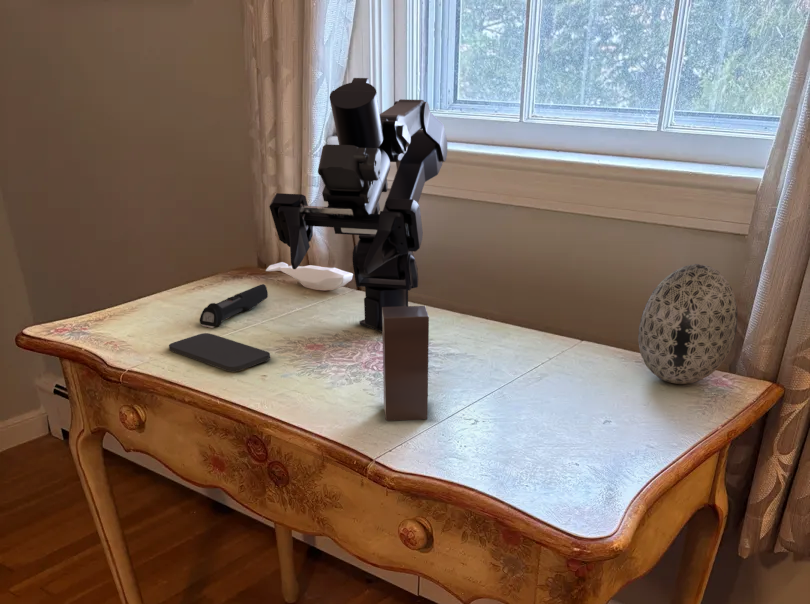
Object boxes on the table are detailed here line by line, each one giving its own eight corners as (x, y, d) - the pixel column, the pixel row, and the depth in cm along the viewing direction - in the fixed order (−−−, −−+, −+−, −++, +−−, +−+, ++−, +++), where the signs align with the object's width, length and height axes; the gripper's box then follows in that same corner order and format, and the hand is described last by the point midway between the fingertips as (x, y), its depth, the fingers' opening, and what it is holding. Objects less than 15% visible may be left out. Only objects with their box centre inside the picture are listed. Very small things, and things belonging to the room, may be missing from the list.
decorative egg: (727, 372, 107) (754, 258, 99) (718, 405, 98) (746, 282, 90) (639, 360, 111) (658, 249, 103) (623, 390, 102) (642, 271, 94)
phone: (206, 331, 119) (273, 353, 111) (206, 337, 119) (274, 358, 111) (165, 345, 114) (232, 368, 106) (166, 350, 115) (233, 374, 107)
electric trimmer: (275, 303, 134) (273, 284, 133) (217, 329, 123) (214, 308, 121) (256, 300, 136) (254, 281, 134) (198, 325, 124) (195, 305, 122)
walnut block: (383, 407, 98) (381, 306, 91) (424, 405, 98) (425, 305, 91) (385, 421, 95) (384, 317, 88) (427, 419, 95) (428, 316, 88)
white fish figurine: (338, 299, 135) (337, 275, 133) (265, 281, 145) (263, 259, 142) (359, 292, 139) (358, 268, 137) (286, 275, 148) (284, 253, 146)
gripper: (277, 123, 97) (237, 207, 90) (425, 127, 93) (395, 215, 86) (298, 201, 107) (263, 283, 100) (433, 208, 103) (407, 293, 96)
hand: (329, 268), depth 95 cm, fingers open, 9 cm apart
